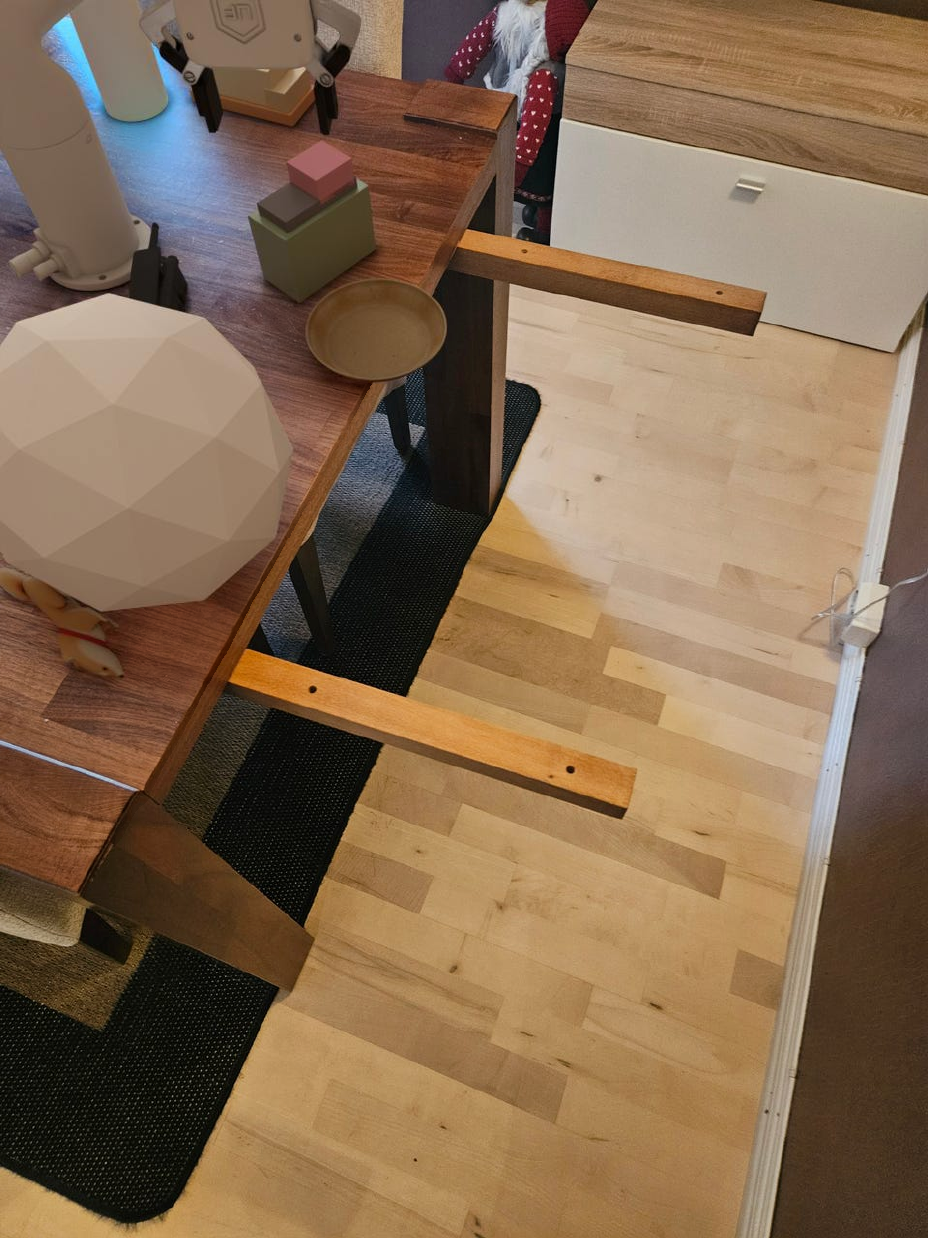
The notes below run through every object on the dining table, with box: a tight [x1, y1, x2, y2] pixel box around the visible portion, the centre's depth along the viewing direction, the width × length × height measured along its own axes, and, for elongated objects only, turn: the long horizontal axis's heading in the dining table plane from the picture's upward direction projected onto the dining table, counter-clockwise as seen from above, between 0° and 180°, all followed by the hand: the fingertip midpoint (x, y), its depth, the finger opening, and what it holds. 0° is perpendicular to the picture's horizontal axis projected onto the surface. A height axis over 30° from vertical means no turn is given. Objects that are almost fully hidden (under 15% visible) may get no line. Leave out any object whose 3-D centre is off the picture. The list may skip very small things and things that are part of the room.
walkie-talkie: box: [128, 221, 189, 313], centre depth 92 cm, size 6×6×20 cm
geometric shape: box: [0, 292, 294, 612], centre depth 67 cm, size 24×25×25 cm
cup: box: [68, 0, 169, 123], centre depth 104 cm, size 8×8×16 cm
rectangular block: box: [247, 177, 377, 304], centre depth 93 cm, size 12×6×8 cm, turn 137°
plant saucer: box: [305, 277, 448, 383], centre depth 89 cm, size 15×15×3 cm
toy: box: [0, 567, 125, 679], centre depth 73 cm, size 3×17×5 cm
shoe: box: [189, 67, 315, 128], centre depth 109 cm, size 15×7×6 cm, turn 67°
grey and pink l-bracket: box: [256, 139, 358, 232], centre depth 88 cm, size 10×5×3 cm, turn 138°
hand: (271, 124), depth 73 cm, fingers open, 9 cm apart
